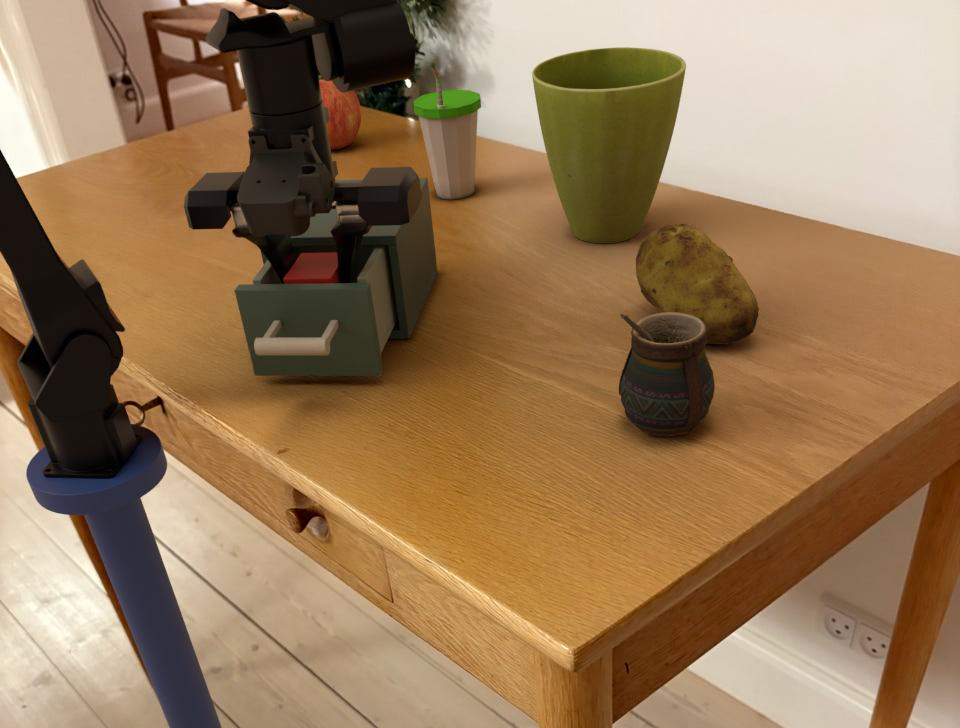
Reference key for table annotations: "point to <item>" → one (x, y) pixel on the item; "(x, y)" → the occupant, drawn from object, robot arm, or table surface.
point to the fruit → (340, 114)
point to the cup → (450, 137)
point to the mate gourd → (667, 374)
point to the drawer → (320, 319)
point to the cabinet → (392, 256)
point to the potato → (696, 282)
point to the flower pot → (608, 134)
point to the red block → (314, 269)
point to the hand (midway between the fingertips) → (321, 298)
